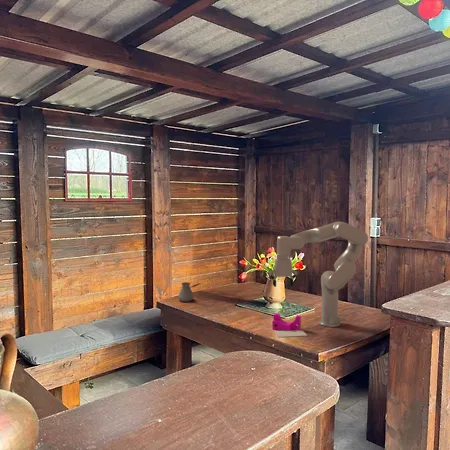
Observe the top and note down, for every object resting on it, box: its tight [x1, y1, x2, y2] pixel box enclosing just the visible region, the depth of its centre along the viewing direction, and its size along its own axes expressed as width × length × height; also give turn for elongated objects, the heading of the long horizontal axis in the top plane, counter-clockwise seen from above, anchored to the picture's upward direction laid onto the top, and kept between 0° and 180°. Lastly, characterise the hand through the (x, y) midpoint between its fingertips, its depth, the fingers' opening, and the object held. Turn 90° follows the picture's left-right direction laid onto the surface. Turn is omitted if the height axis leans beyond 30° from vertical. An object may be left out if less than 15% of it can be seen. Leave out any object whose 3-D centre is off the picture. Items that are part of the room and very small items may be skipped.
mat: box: [274, 329, 308, 338], centre depth 221 cm, size 16×9×1 cm, turn 97°
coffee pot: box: [178, 281, 201, 303], centre depth 289 cm, size 21×12×15 cm, turn 45°
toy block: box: [271, 313, 302, 331], centre depth 229 cm, size 15×6×8 cm, turn 69°
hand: (282, 286), depth 235 cm, fingers open, 9 cm apart
